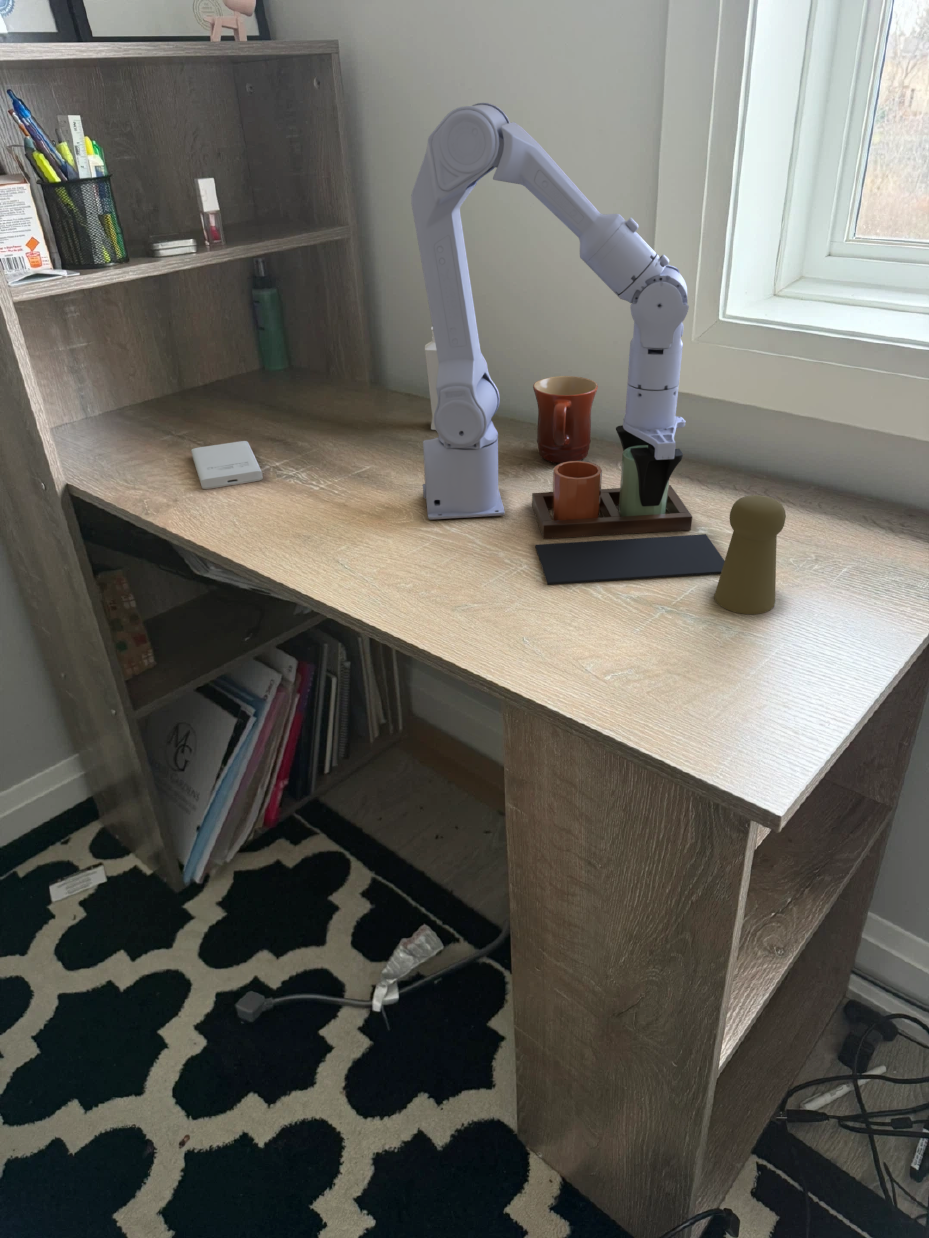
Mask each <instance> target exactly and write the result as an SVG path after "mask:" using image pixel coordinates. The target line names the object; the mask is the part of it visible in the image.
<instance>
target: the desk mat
mask: <svg viewBox="0 0 929 1238" xmlns="http://www.w3.org/2000/svg"><path fill="white" fill-rule="evenodd" d="M535 550H536V553H537V556H538V559H539V563H540V565H541V568H542V571H543V574H544V577H545V580H546V581H545V582H546V584H547V585H548V586H551V585H566V584H567V585H568V584H582V583H584V584H585V583H598V582H599V583H600V582H614V581H629V580H645V579H659V578H661V579H662V578H676V577H677V578H678V577H695V576H707V575H709V576H710V575H721V571H722V568H723V565H724V561H725V558H723V556H722V555H721V553H720V552H719V550H718V549H717V547H716V546H715V545H714V544H713V542H712V541H711V540H710V538H709V536H708V534H706V533H704V534H703V533H702V534H688V535H687V534H686V535H670V536H653V537H640V538H622V539H621V538H620V539H607V540H606V539H605V540H588V541H574V542H573V541H572V542H571V541H570V542H556V543H541V544H540V543H539V544H535Z"/></svg>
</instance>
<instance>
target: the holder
mask: <svg viewBox="0 0 929 1238" xmlns="http://www.w3.org/2000/svg"><path fill="white" fill-rule="evenodd" d="M619 498H620V487H615V488H614V487H613V488H601V498H600V513H601V514H602V516H603V517H599V518H588V519H571V520H554V521H553V518H552V517H551V514H550V511H549V510H552V508H553V491H544V492H532V493H531V507H532V510H533V512H534V516H535V519H536V522H537V525H538V528H539V531H540V533H541V536H542V539H543V540H548V539H549V540H550V539H563V538H565V539H567V538H585V537H599V536H616V535H632V534H647V533H649V534H650V533H662V532H663V533H665V532H666V533H667V532H679V531H692V523H693V515H692V514H691V512H690V511H689V509H688V508H687V507H686V505H685V504H684V502H683V500H682V499H681V498H680V497H679V495H678V494H677V492H676V491H675V489H674V487H672V484H669V486H668V497H667V507H666V511H668V513H666V514H655V515H638V516H621V515H620V514H619V509H618V508H617V506H619Z"/></svg>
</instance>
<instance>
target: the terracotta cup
mask: <svg viewBox="0 0 929 1238" xmlns="http://www.w3.org/2000/svg"><path fill="white" fill-rule="evenodd" d="M552 472H553V477H552V492H553V508H552V509H551V511H552V513H551V515H552V521H554V520H571V519H588V518H600V516H601V515H600V514H601V510H600V498H601V489H602V478H603V477H602V476H603V470H602V468H601V466H599V465H598V464H596V463H593V462H590V461H583V460H581V461H568V462H564V463H560V464H556V465H555V466H554V468H553V471H552Z"/></svg>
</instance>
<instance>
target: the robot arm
mask: <svg viewBox="0 0 929 1238" xmlns="http://www.w3.org/2000/svg"><path fill="white" fill-rule="evenodd" d="M494 169H495V172H494V174H493V177H492V180H494V181H498V182H504V183H508V184H509V183H510V184H515V185H521V186H523V187H525V189H526V190H528V191H529V192H530V194H532V195H533V196H534V197H535V198H536V199H537V200H538V201H539V202H540V203H541V204H542V205H544V206H545V207H546V208H547V209H548V210H549V211H550V212H551V213H552V214H553V215H554V216H555V217H556V218H557V219H558V220H559V221H560V222H561V223H563V225H565V226H566V227H567V229H569V230H570V231H571V233H573V234H574V236H576V237H577V238H578V240H579V258H580V259H581V260H582V261H583V262H584V263H585V265H587V266H588V268H589V269H591V270H592V271H593V273H595V275H596V276H597V277H598V278H599V279H600V280H601V281H602V282H604V284H605V285H606V286H607V287H608V288H609V289H610V290H611V291H612V292H613V293H614V295H616V296H617V297H618V299H620V300H622V301H626V302H628V303H629V304H630V307H629V308H630V314H631V317H632V319H633V321H634V322H633V323H634V324H633V332H632V333H633V335H632V339H631V340H630V342H629V354H628V356H629V357H628V368H627V369H628V371H627V382H626V383H627V385H626V399H625V410H624V411H625V413H624V417H623V419H622V425H621V424H620V425H618V426H616V427H615V431H616V433H617V436H618V438H619V440H620V443H621V447H622V451H624V450H625V449H627V448H629V447H633V446H638V445H648V448H647V447H646V448H631V450H630V452H631V454H632V456H633V458H634V461H635V464H636V468H637V473H638V481H639V497H640V502H641V505H642V506H643V507H644V506H659V504H660V502H661V500H662V497H663V494H664V491H665V488H666V486H667V483H668V480H669V481H670V478H671V477H672V474H673V472H674V471H675V469H676V467H678V465H679V464H680V463H681V461H682V459H683V456H684V453H683V451H682V450H681V449H680V448H676V444H677V442H676V440H675V437H676V431H677V429H679V428H682V429H683V428H685V426H686V420H685V419H684V417H682V416H678V415H677V408H678V397H679V386H680V377H681V368H682V356H683V348H684V342H683V340H682V337H683V335H684V329H685V327H684V323H683V322H684V321H685V319H686V317H687V315H688V312H689V309H690V306H689V304H688V286H687V283H686V280H685V278H684V277H683V276H682V274H681V273H680V270H679V268H678V267H676V266H674V265H672V264H670V259H669V258H668V256H666V254H664V253H663V254H661V255H660V256H659V254H658V253H657V252H656V251H655V250H654V249H653V248H652V247H651V246H650V245H649V244H648V243H647V242H646V241H645V239H644V238H643V237H641V235H640V234H639V233H638V232H637V230H639V227H640V226H639V224H638V222H637V221H635V220H634V218H633V217H629V218H628V219H627V220H626V219H625V218H624V217H623V216H622V215H621V214H620V213H601V212H600V211H599V210H598V208H597V207H596V206H594V204H593V203H592V202H591V200H589V199H588V198H587V196H586V195H585V194H584V192H582V191H581V190H580V188H579V187H578V186H577V185H576V184H575V182H574V181H573V180H572V179H571V178H570V177H569V176H568V175H567V174H566V172H565V171H564V170H563V169H562V168H561V167H560V166H559V164H558V163H557V162H556V161H555V160H554V159H553V157H551V155H550V154H549V153H548V152H547V151H546V150H545V148H543V146H542V145H541V144H540V143H539V142H538V141H536V139H535V138H534V137H533V136H532V135H530V133H528V131H526V130H525V129H524V128H523V126H521V125H520V124H518V123H516V122H515V121H512V122H510V118H509V117H508V116H507V114H506V113H505V112H504V110H503V109H502V108H500V107H499V106H497V105H495V104H493V103H489V102H477V103H474V104H472V105H463V106H459V107H457V108H454V109H452V110H450V111H449V112H448V113H447V114H446V115H445V116H444V118H442V120H441V121H440V122H439V124H438V125H437V126H436V127H435V128H434V129H433V131H432V132H431V133H430V134H429V136H427V143H426V150H425V154H424V156H423V159H422V163H421V165H420V168H419V171H418V174H417V177H416V179H415V182H414V185H413V187H412V191H411V195H410V204H411V210H412V215H413V221H414V226H415V234H416V240H417V245H418V250H419V257H420V262H421V268H422V273H423V280H424V287H425V291H426V296H427V302H428V308H429V309H428V310H429V314H430V319H431V327H433V332H434V338H435V344H436V350H437V356H438V362H439V367H438V376H437V384H436V391H437V397H438V403H437V407H436V410H435V413H434V425H435V428H436V430H435V431H436V432H437V434H438V436H437V437H433V438H430V439H423V440H422V455H423V470H424V471H423V472H424V483H422V497H423V499H425V502H426V503H425V504H426V513H427V519H428V520H432V521H433V520H448V519H463V518H464V519H465V518H466V519H467V518H482V517H500V516H505V513H506V511H505V508H504V507H505V506H504V503H503V500H502V497H501V493H500V489H499V433H498V430H497V429H496V427H495V425H494V422H493V421H492V418H493V417H494V416H495V415H496V413H497V411H498V409H499V407H500V402H501V400H500V399H501V398H500V397H501V396H500V392H499V389H498V387H497V385H496V384H495V382H494V381H493V380H492V377H491V375H490V373H489V368H488V363H487V361H486V359H485V357H484V355H483V353H482V351H481V344H480V337H479V331H478V324H477V317H476V310H475V304H474V303H475V302H474V297H473V290H472V283H471V277H470V271H469V262H468V256H467V250H466V243H465V235H464V230H463V228H464V227H463V222H462V216H461V207H462V205H463V204H464V202H465V201H466V200H467V198H468V197H469V195H470V194H471V192H472V191H473V190H474V189H475V187H476V185H477V184H478V182H479V181H480V180H481V179H482V178H484V177H485V176H486V175H488V174H489V173H490V172H491V171H493V170H494Z"/></svg>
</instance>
